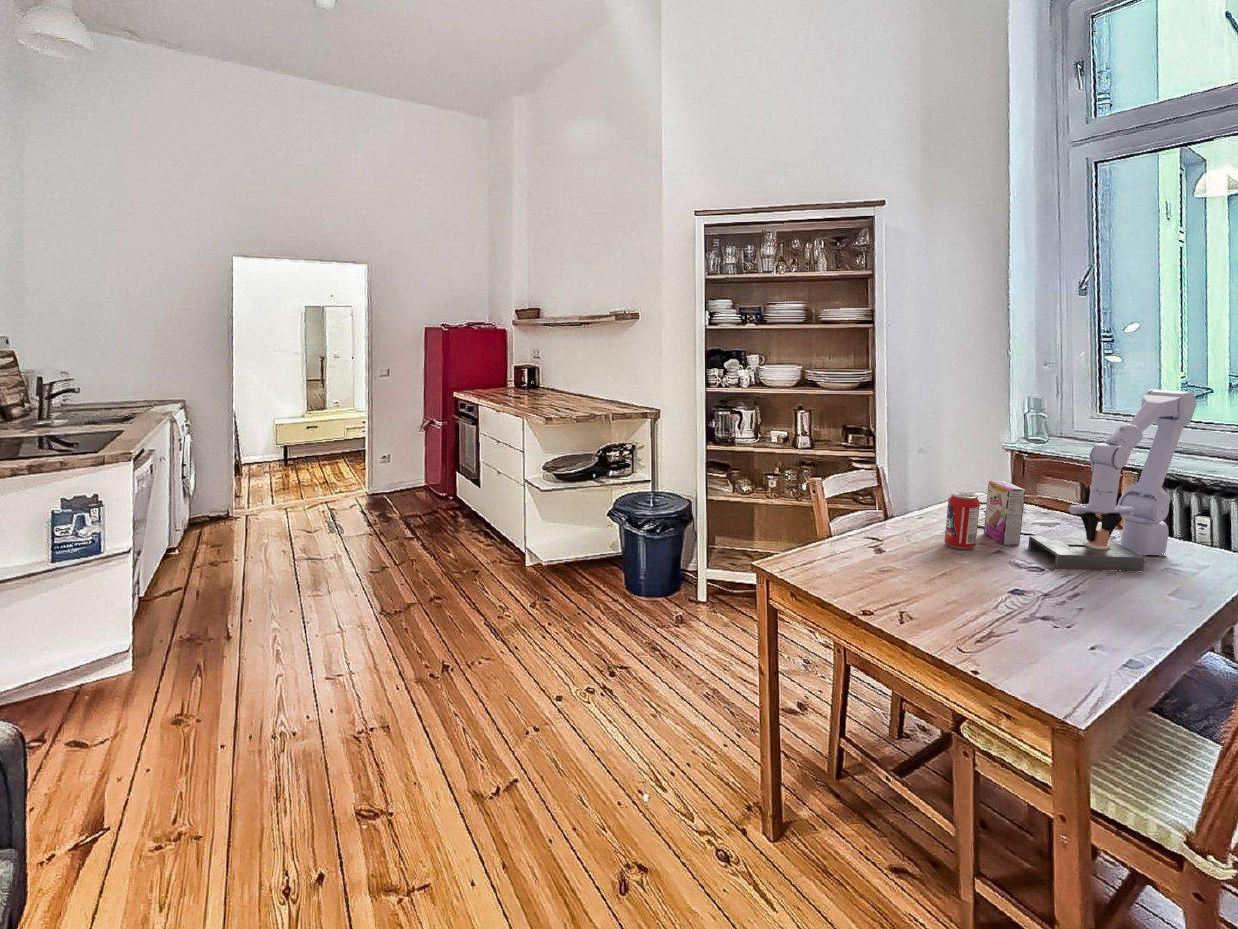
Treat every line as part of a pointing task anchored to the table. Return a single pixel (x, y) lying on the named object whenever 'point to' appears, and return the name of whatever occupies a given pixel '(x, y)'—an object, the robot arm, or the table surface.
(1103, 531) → the peg
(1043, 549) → the keyhole bracket
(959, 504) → the soda can
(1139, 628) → the table surface
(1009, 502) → the candy bar box
